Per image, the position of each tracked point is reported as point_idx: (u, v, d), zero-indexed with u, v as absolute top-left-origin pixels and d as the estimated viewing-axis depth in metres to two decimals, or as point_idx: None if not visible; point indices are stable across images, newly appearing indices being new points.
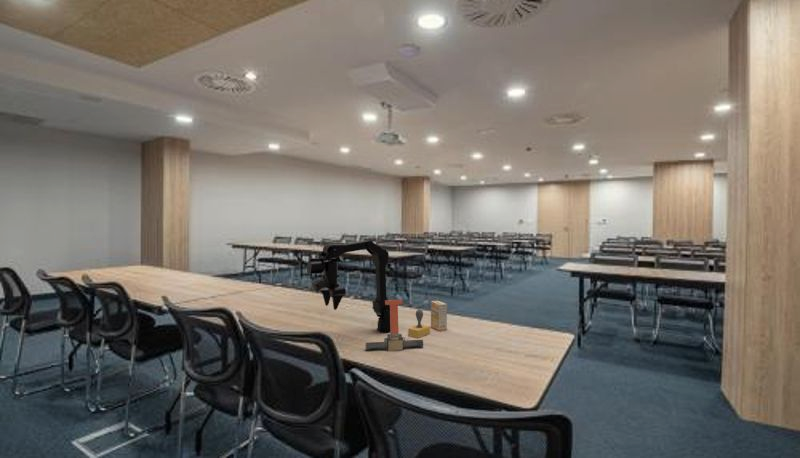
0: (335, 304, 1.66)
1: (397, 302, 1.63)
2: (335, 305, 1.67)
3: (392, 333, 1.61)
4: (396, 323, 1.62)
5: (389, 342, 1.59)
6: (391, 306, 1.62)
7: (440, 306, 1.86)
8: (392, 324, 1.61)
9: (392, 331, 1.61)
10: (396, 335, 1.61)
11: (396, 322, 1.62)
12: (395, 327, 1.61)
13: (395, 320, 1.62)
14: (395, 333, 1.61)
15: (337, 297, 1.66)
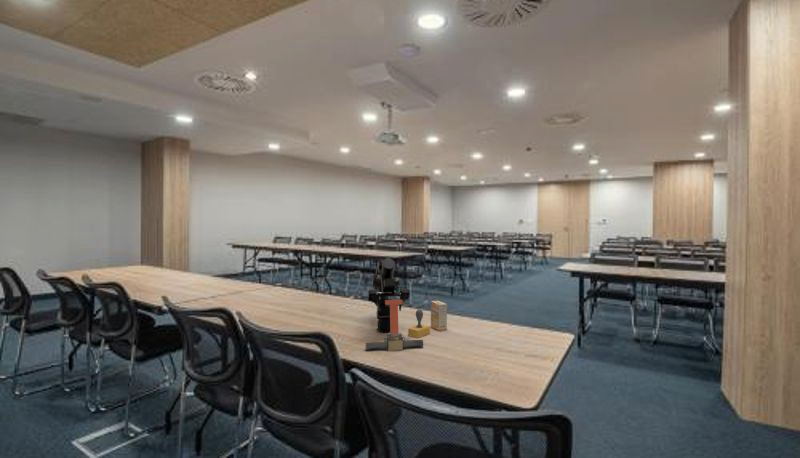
0: (401, 305, 1.73)
1: (397, 302, 1.63)
2: None
3: (392, 333, 1.61)
4: (396, 323, 1.62)
5: (389, 342, 1.59)
6: (391, 306, 1.62)
7: (440, 306, 1.86)
8: (392, 324, 1.61)
9: (392, 331, 1.61)
10: (396, 335, 1.61)
11: (396, 322, 1.62)
12: (395, 327, 1.61)
13: (395, 320, 1.62)
14: (395, 333, 1.61)
15: None
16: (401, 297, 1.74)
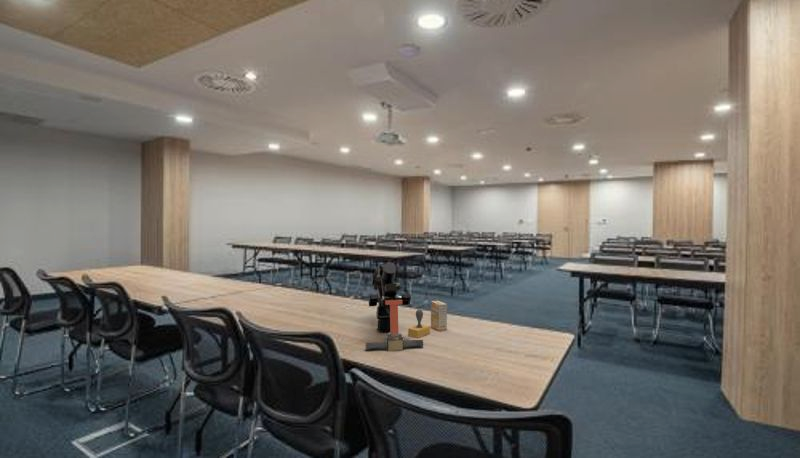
0: None
1: (397, 302, 1.63)
2: None
3: (392, 333, 1.61)
4: (396, 323, 1.62)
5: (389, 342, 1.59)
6: (391, 306, 1.62)
7: (440, 306, 1.86)
8: (392, 324, 1.61)
9: (392, 331, 1.61)
10: (396, 335, 1.61)
11: (396, 322, 1.62)
12: (395, 327, 1.61)
13: (395, 320, 1.62)
14: (395, 333, 1.61)
15: None
16: None
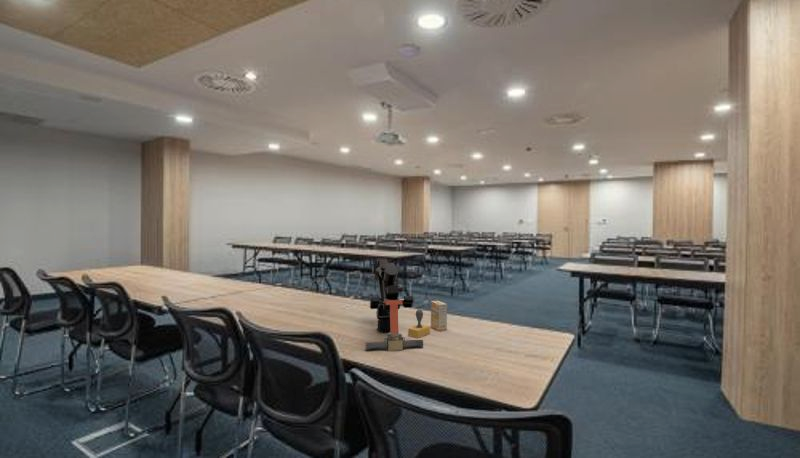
0: None
1: (397, 302, 1.63)
2: None
3: (392, 333, 1.61)
4: (396, 323, 1.62)
5: (389, 342, 1.59)
6: (391, 306, 1.62)
7: (440, 306, 1.86)
8: (392, 324, 1.61)
9: (392, 331, 1.61)
10: (396, 335, 1.61)
11: (396, 322, 1.62)
12: (395, 327, 1.61)
13: (395, 320, 1.62)
14: (395, 333, 1.61)
15: None
16: None
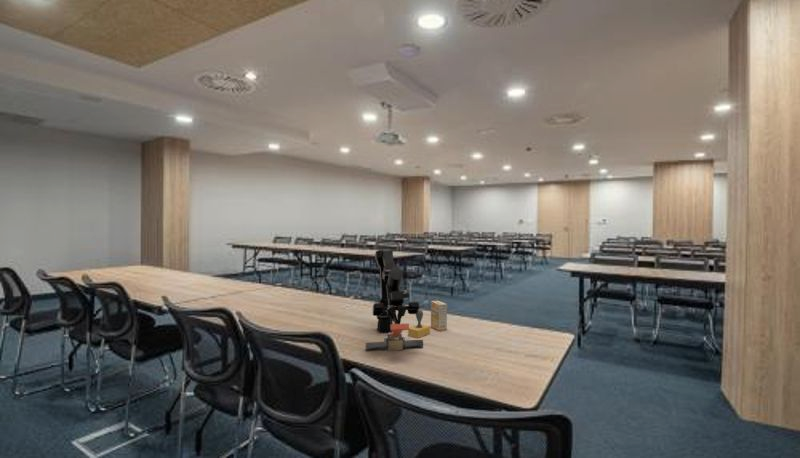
0: (400, 321, 1.54)
1: (403, 329, 1.50)
2: None
3: (392, 336, 1.60)
4: (398, 333, 1.57)
5: (389, 342, 1.59)
6: (396, 329, 1.51)
7: (440, 306, 1.86)
8: (394, 334, 1.57)
9: (393, 336, 1.59)
10: (396, 337, 1.61)
11: (398, 333, 1.57)
12: (396, 335, 1.58)
13: (398, 333, 1.56)
14: (395, 336, 1.60)
15: None
16: (400, 312, 1.55)
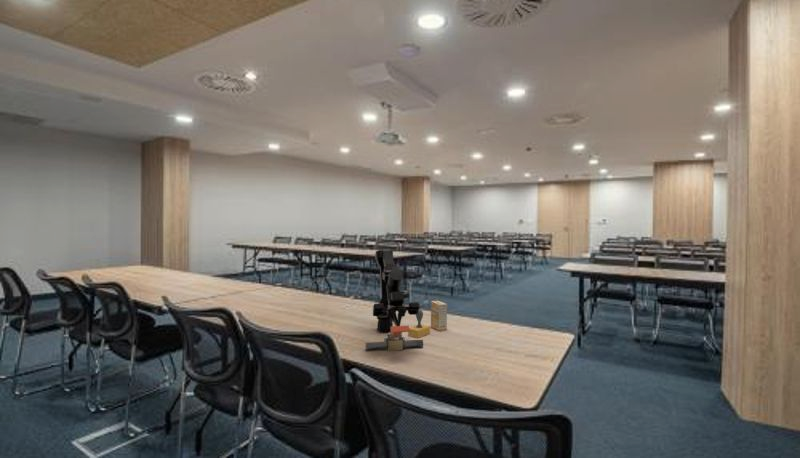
0: (400, 321, 1.54)
1: (403, 331, 1.49)
2: (400, 322, 1.54)
3: (392, 336, 1.60)
4: (398, 334, 1.57)
5: (389, 342, 1.59)
6: None
7: (440, 306, 1.86)
8: (394, 334, 1.57)
9: (393, 336, 1.59)
10: (396, 337, 1.61)
11: (398, 334, 1.57)
12: (396, 335, 1.58)
13: (398, 334, 1.56)
14: (395, 336, 1.60)
15: None
16: (400, 312, 1.55)
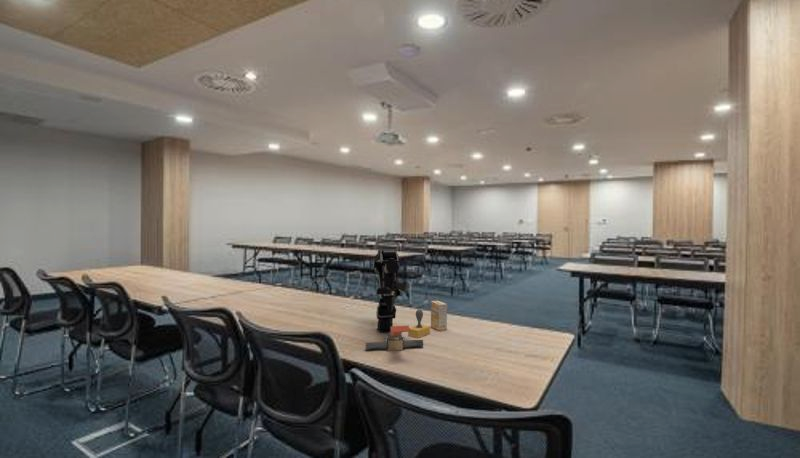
0: None
1: (403, 331, 1.49)
2: None
3: (392, 336, 1.60)
4: (398, 334, 1.57)
5: (389, 342, 1.59)
6: None
7: (440, 306, 1.86)
8: (394, 334, 1.57)
9: (393, 336, 1.59)
10: (396, 337, 1.61)
11: (398, 334, 1.57)
12: (396, 335, 1.58)
13: (398, 334, 1.56)
14: (395, 336, 1.60)
15: None
16: (394, 298, 1.74)
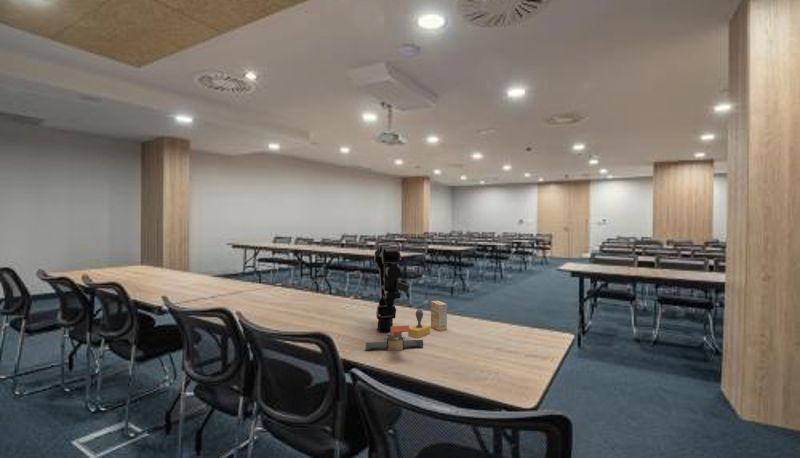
0: None
1: (403, 331, 1.49)
2: None
3: (392, 336, 1.60)
4: (398, 334, 1.57)
5: (389, 342, 1.59)
6: None
7: (440, 306, 1.86)
8: (394, 334, 1.57)
9: (393, 336, 1.59)
10: (396, 337, 1.61)
11: (398, 334, 1.57)
12: (396, 335, 1.58)
13: (398, 334, 1.56)
14: (395, 336, 1.60)
15: None
16: None
